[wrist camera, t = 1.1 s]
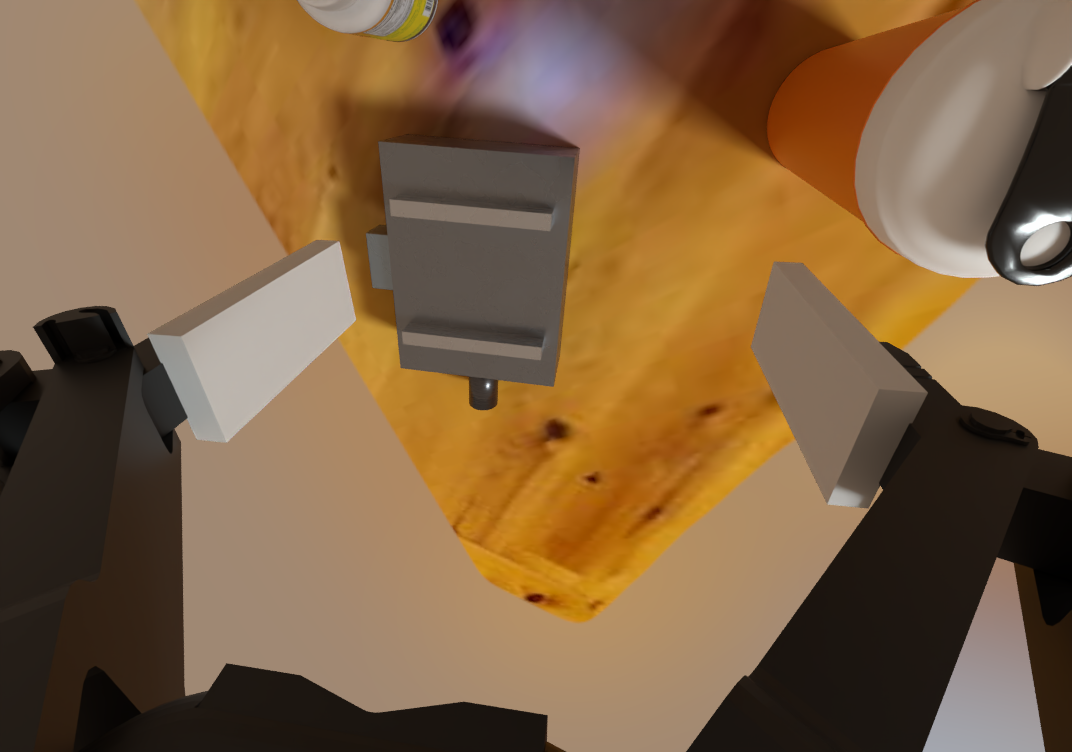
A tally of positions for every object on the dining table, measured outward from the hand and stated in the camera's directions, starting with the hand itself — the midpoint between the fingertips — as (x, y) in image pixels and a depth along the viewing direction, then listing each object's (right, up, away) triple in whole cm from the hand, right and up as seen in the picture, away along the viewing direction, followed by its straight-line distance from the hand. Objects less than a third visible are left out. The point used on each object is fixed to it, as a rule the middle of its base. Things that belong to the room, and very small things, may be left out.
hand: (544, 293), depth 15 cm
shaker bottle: (+18, +14, +15) cm, 27 cm away
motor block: (-5, +5, +24) cm, 25 cm away
